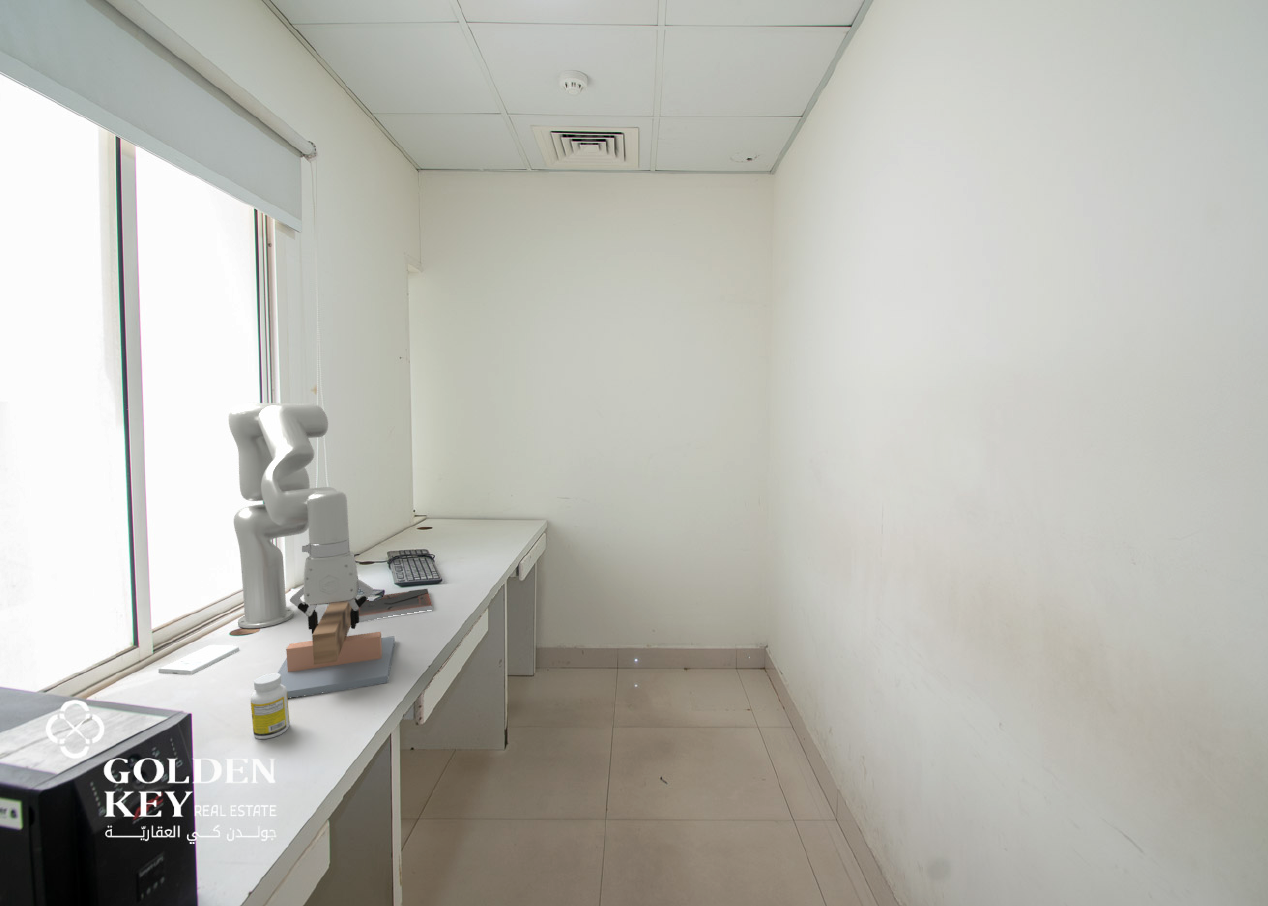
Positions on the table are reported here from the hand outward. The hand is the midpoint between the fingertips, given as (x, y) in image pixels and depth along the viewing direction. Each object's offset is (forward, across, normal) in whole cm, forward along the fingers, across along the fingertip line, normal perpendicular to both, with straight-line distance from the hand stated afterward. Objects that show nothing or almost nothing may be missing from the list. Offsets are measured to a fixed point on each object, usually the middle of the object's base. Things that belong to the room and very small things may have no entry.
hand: (334, 628), depth 123 cm
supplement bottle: (+9, -7, -23) cm, 26 cm away
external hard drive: (+10, -30, +16) cm, 36 cm away
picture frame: (+10, +8, +38) cm, 40 cm away
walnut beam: (+3, 0, 0) cm, 3 cm away
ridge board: (+9, 0, 0) cm, 9 cm away
